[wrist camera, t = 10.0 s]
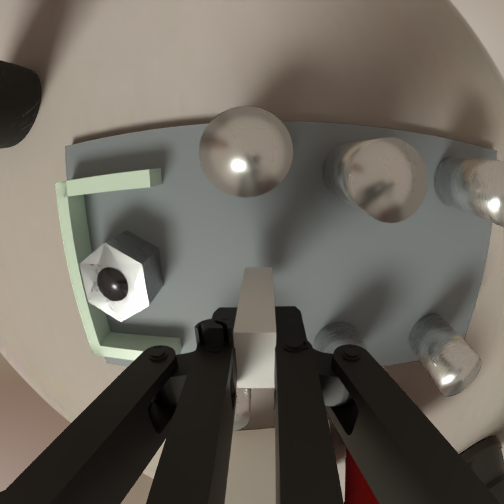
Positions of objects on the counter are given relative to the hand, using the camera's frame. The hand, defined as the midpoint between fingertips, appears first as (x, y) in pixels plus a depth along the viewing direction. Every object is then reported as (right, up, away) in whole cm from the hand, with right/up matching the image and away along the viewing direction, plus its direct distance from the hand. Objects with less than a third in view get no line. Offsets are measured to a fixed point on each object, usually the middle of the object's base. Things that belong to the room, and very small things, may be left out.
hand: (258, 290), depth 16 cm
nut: (-9, +1, +2) cm, 9 cm away
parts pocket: (-9, +1, +3) cm, 10 cm away
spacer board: (+3, +1, +3) cm, 4 cm away
